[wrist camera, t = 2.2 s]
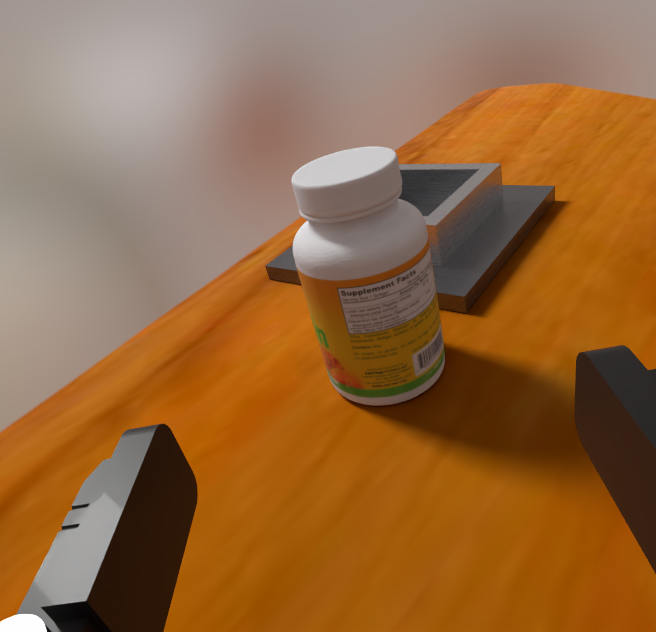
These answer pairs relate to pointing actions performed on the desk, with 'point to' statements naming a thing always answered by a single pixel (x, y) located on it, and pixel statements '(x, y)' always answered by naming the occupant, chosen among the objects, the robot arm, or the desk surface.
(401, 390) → the supplement bottle
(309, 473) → the desk surface
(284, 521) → the desk surface
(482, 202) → the socket plate
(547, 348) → the desk surface
